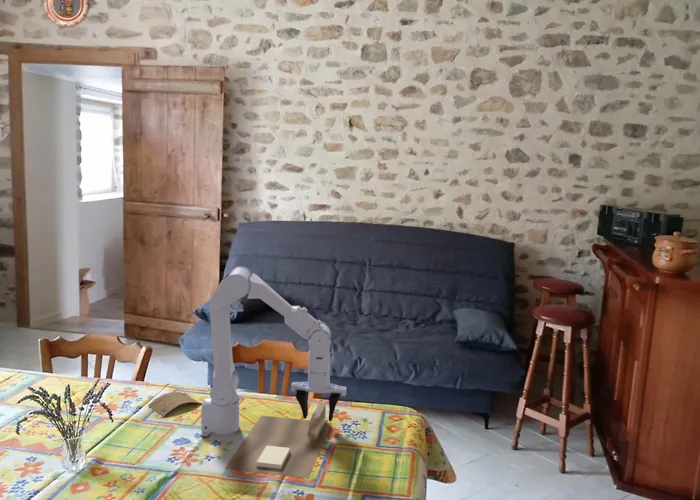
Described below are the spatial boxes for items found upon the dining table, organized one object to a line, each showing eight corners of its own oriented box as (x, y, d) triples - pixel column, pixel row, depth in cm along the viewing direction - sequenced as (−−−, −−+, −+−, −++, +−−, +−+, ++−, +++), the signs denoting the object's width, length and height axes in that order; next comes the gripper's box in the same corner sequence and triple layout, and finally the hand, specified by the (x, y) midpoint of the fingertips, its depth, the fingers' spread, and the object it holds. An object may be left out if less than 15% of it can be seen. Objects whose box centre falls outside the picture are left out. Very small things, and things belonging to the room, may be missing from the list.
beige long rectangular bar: (309, 439, 157) (309, 421, 156) (318, 419, 168) (318, 402, 167) (316, 439, 157) (317, 421, 156) (325, 420, 167) (325, 403, 166)
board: (224, 472, 142) (224, 468, 142) (261, 418, 170) (261, 415, 169) (308, 482, 139) (308, 478, 139) (331, 426, 166) (331, 422, 166)
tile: (266, 449, 151) (256, 466, 143) (266, 445, 151) (256, 462, 143) (290, 452, 150) (281, 469, 142) (290, 447, 150) (281, 464, 142)
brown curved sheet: (161, 420, 168) (161, 411, 168) (142, 409, 175) (142, 400, 175) (205, 404, 179) (205, 396, 178) (186, 394, 186) (186, 386, 185)
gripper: (348, 366, 163) (347, 414, 165) (295, 362, 165) (295, 409, 167) (344, 376, 156) (342, 426, 158) (289, 371, 158) (288, 420, 161)
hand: (318, 418), depth 162 cm, fingers open, 6 cm apart
